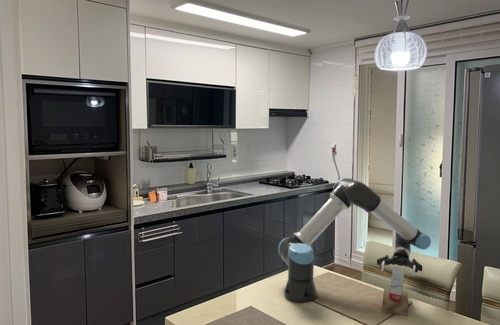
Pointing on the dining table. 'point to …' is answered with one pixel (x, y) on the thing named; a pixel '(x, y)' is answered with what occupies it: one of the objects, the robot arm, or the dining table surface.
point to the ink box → (396, 283)
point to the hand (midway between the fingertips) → (397, 270)
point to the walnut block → (395, 304)
